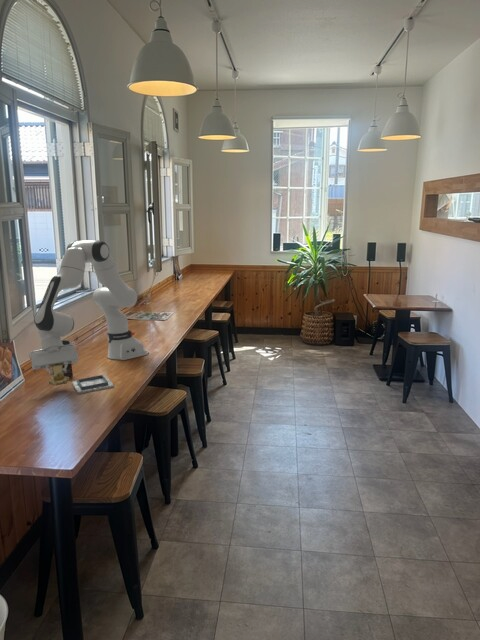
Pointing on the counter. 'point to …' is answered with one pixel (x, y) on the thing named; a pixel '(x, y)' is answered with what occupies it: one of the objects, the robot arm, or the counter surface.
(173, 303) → the counter surface
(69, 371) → the box
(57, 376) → the tan chunky piece
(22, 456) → the counter surface
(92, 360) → the counter surface
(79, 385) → the carrier
